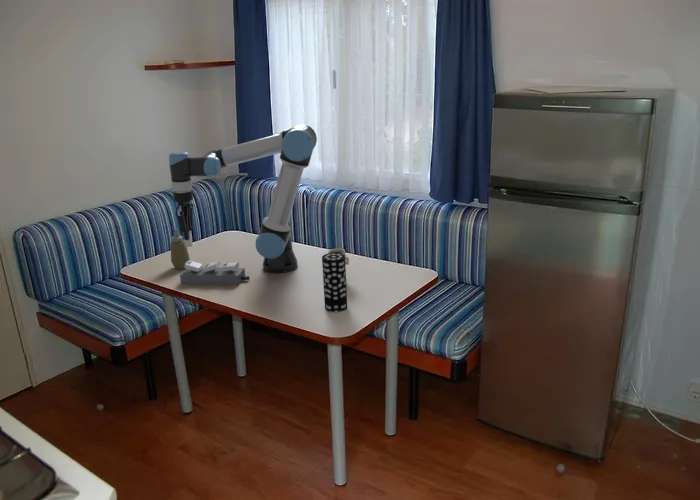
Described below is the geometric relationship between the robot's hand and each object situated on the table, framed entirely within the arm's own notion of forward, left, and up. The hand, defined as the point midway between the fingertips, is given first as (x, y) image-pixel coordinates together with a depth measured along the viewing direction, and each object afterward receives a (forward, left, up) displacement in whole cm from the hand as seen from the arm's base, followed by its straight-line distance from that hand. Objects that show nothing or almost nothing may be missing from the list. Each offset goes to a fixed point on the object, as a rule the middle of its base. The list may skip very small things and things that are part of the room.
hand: (188, 246), depth 242 cm
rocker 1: (-1, 0, -9) cm, 9 cm away
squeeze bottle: (+11, -14, -15) cm, 24 cm away
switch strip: (-10, 0, -15) cm, 18 cm away
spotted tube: (-65, +24, -15) cm, 71 cm away
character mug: (-62, -1, -15) cm, 64 cm away
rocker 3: (-17, 0, -9) cm, 19 cm away
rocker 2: (-9, 0, -9) cm, 12 cm away
